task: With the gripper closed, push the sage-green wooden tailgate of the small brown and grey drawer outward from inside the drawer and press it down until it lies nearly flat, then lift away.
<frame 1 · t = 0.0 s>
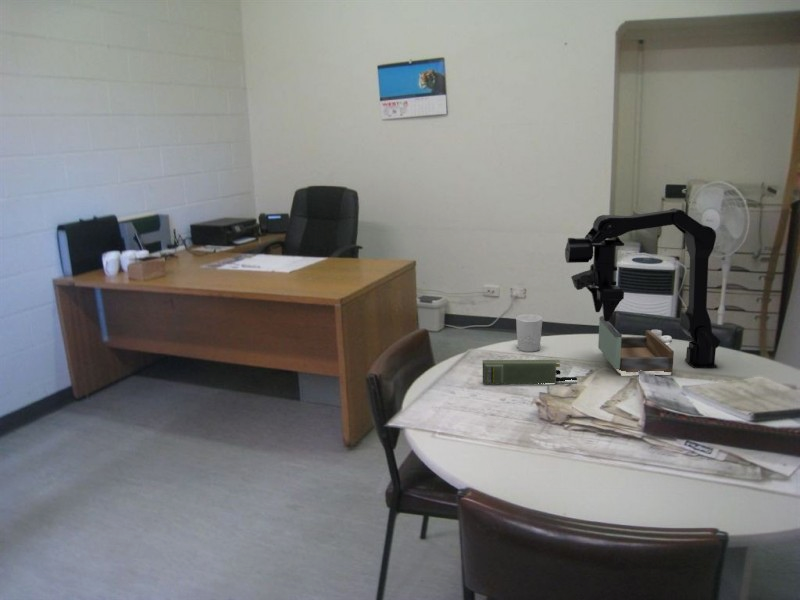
hand: (601, 316, 175), 15 cm above the table, tool pointing down, fingers open, 9 cm apart
tailgate: (609, 341, 177), point 7 cm above the table, hinge at 0.0°
handheld radio: (529, 384, 168), on the table
white cup: (528, 349, 195), on the table
teacup and saucer: (664, 346, 194), on the table
brown and grey drawer: (635, 363, 179), on the table
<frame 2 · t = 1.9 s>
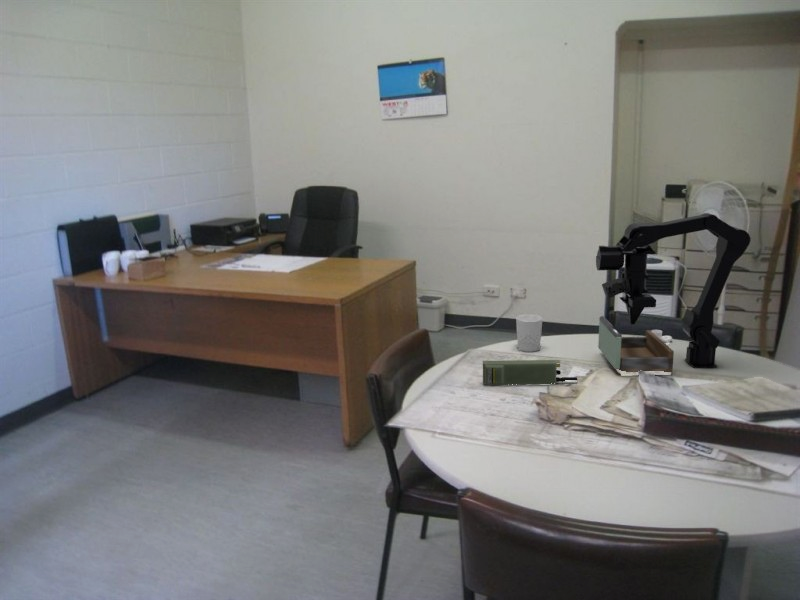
hand: (632, 323, 176), 12 cm above the table, tool pointing down, fingers closed
nothing on the table moved.
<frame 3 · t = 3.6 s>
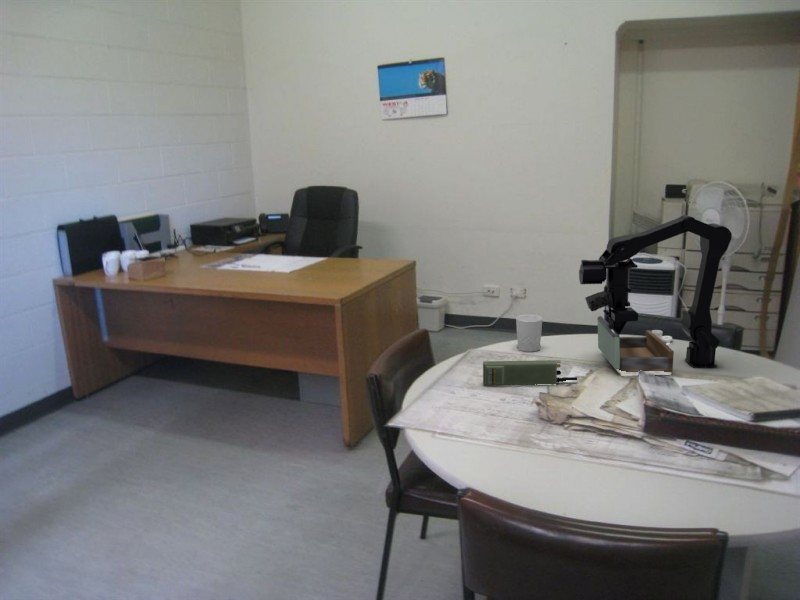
hand: (615, 336, 177), 8 cm above the table, tool pointing down, fingers closed, pressing on tailgate
tailgate: (608, 341, 177), point 7 cm above the table, hinge at 3.7°, touching gripper
everything else where it was.
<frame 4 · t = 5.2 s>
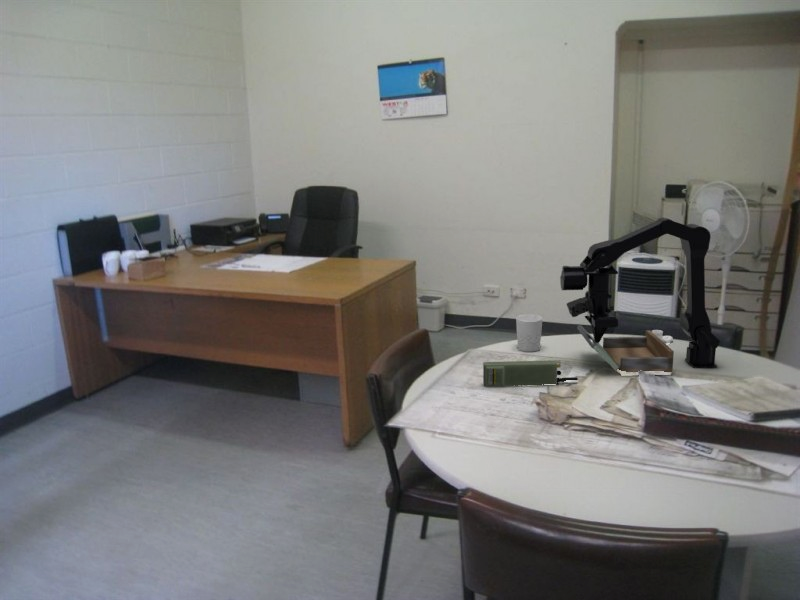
hand: (596, 342, 178), 7 cm above the table, tool pointing down, fingers closed, pressing on tailgate
tailgate: (596, 346, 178), point 6 cm above the table, hinge at 44.5°, touching gripper
everything else where it was.
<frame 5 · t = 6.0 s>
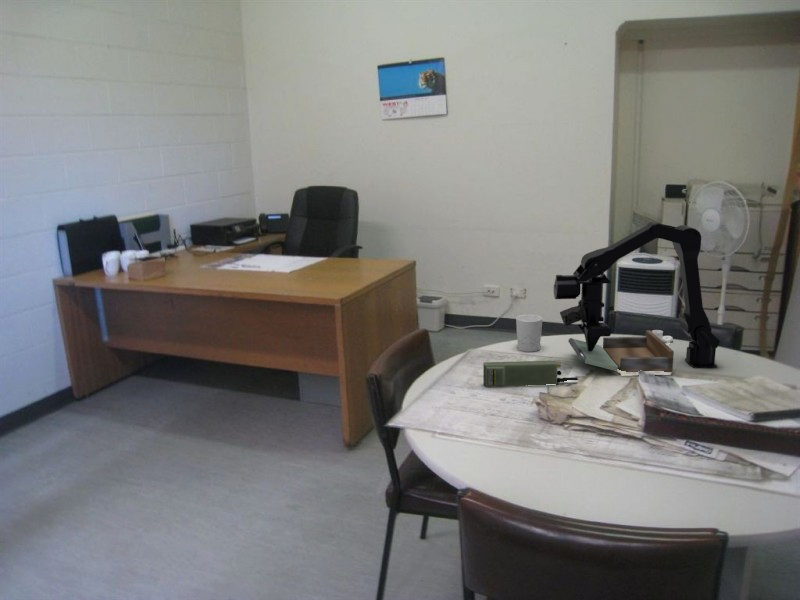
hand: (590, 350, 178), 4 cm above the table, tool pointing down, fingers closed, pressing on tailgate
tailgate: (591, 353, 178), point 3 cm above the table, hinge at 74.3°, touching gripper
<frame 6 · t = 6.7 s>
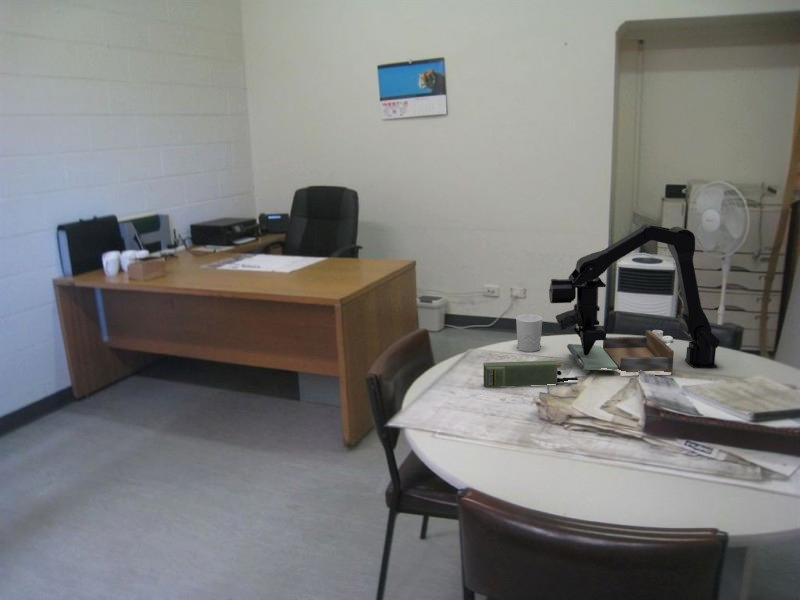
hand: (586, 354, 179), 3 cm above the table, tool pointing down, fingers closed, pressing on tailgate
tailgate: (590, 356, 179), point 2 cm above the table, hinge at 85.6°, touching gripper
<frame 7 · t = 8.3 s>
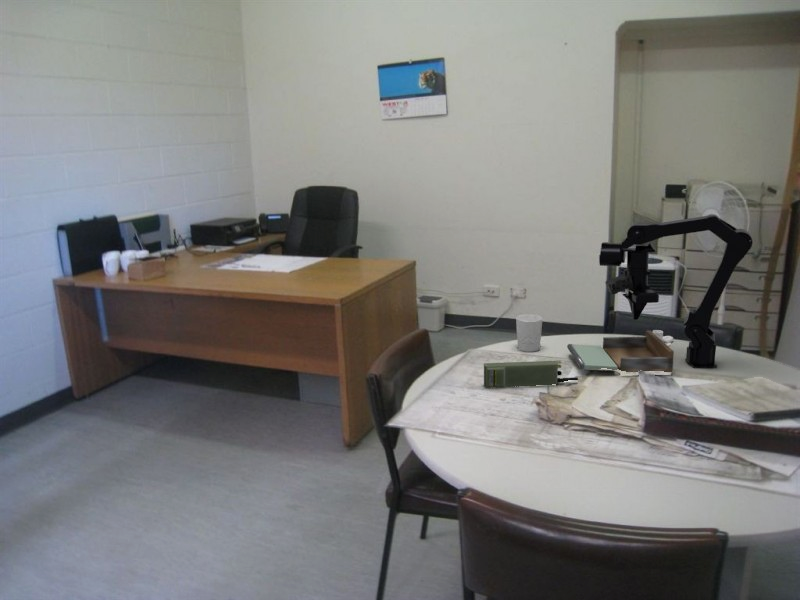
hand: (635, 319, 182), 12 cm above the table, tool pointing down, fingers closed
tailgate: (590, 356, 179), point 2 cm above the table, hinge at 85.7°
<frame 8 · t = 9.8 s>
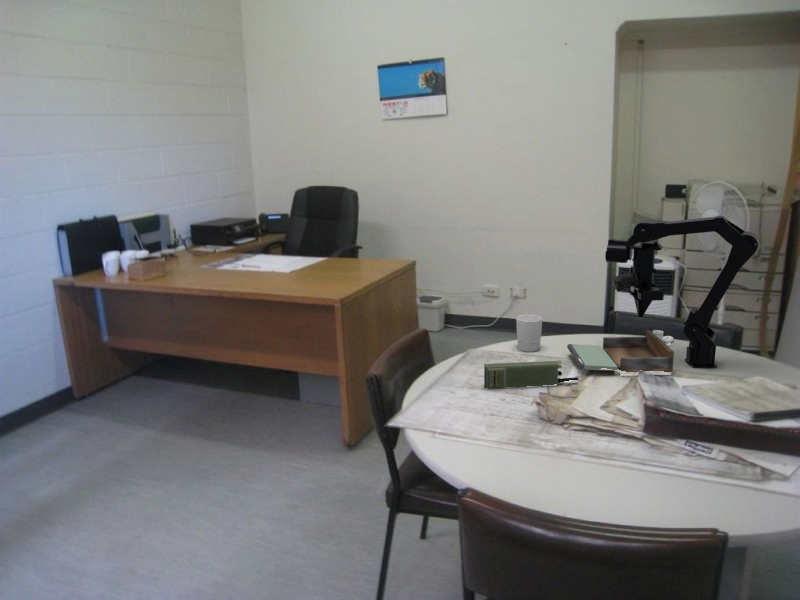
hand: (640, 316, 182), 12 cm above the table, tool pointing down, fingers closed
at the end: tailgate at +86° (first picture: +0°); the gripper is holding nothing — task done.
